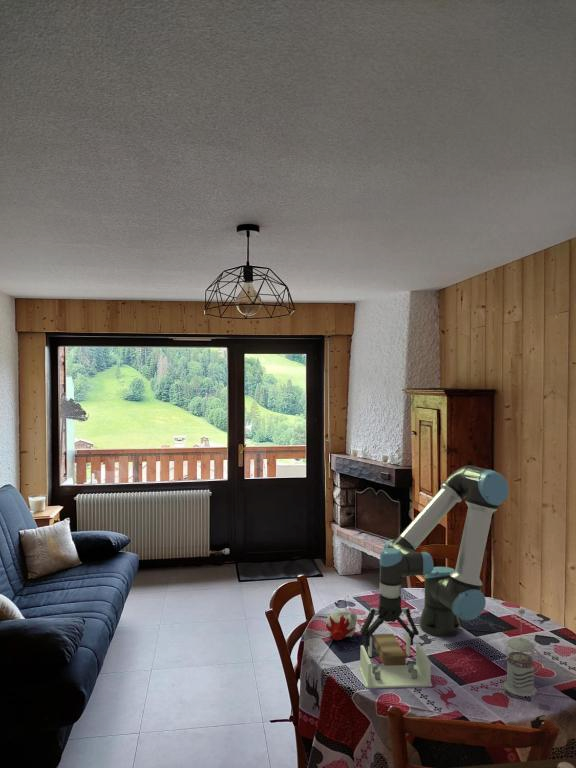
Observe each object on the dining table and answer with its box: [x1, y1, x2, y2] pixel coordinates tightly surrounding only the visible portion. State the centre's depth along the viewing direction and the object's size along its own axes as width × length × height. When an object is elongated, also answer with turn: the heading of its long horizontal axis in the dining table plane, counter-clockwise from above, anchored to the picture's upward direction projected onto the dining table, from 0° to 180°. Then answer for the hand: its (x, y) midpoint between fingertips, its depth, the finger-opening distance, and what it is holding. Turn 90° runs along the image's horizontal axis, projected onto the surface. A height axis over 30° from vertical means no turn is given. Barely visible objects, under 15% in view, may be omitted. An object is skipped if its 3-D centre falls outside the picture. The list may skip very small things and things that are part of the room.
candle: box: [325, 610, 358, 641], centre depth 206 cm, size 9×11×15 cm
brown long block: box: [373, 633, 406, 666], centre depth 193 cm, size 16×7×4 cm, turn 4°
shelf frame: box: [358, 643, 433, 689], centre depth 179 cm, size 21×12×8 cm, turn 94°
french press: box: [503, 608, 543, 697], centre depth 174 cm, size 10×12×25 cm
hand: (388, 654), depth 193 cm, fingers open, 13 cm apart
